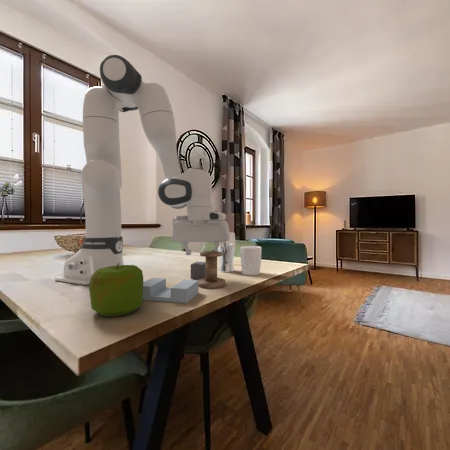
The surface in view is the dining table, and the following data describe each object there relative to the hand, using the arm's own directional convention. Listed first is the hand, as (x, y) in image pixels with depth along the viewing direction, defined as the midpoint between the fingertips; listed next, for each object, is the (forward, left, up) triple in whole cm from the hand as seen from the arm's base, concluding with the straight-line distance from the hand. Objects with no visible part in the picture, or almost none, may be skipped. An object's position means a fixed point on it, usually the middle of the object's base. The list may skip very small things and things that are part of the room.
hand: (201, 254), depth 92 cm
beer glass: (+6, +13, -8) cm, 16 cm away
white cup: (+16, +10, -8) cm, 21 cm away
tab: (-1, 0, -8) cm, 8 cm away
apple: (-8, -36, -8) cm, 38 cm away
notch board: (-2, -23, -8) cm, 25 cm away
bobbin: (+6, -9, -8) cm, 14 cm away
